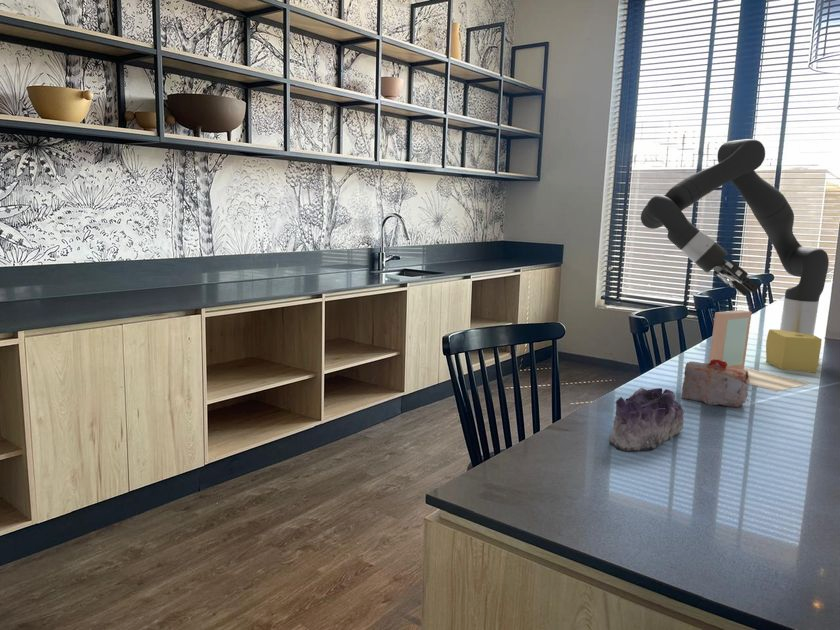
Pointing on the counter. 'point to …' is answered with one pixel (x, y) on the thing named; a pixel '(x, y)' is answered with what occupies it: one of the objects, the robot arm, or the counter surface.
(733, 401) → the food item
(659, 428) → the geode
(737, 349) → the tile
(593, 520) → the counter surface
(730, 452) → the counter surface
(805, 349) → the cheese
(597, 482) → the counter surface
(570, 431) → the counter surface
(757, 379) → the mat
